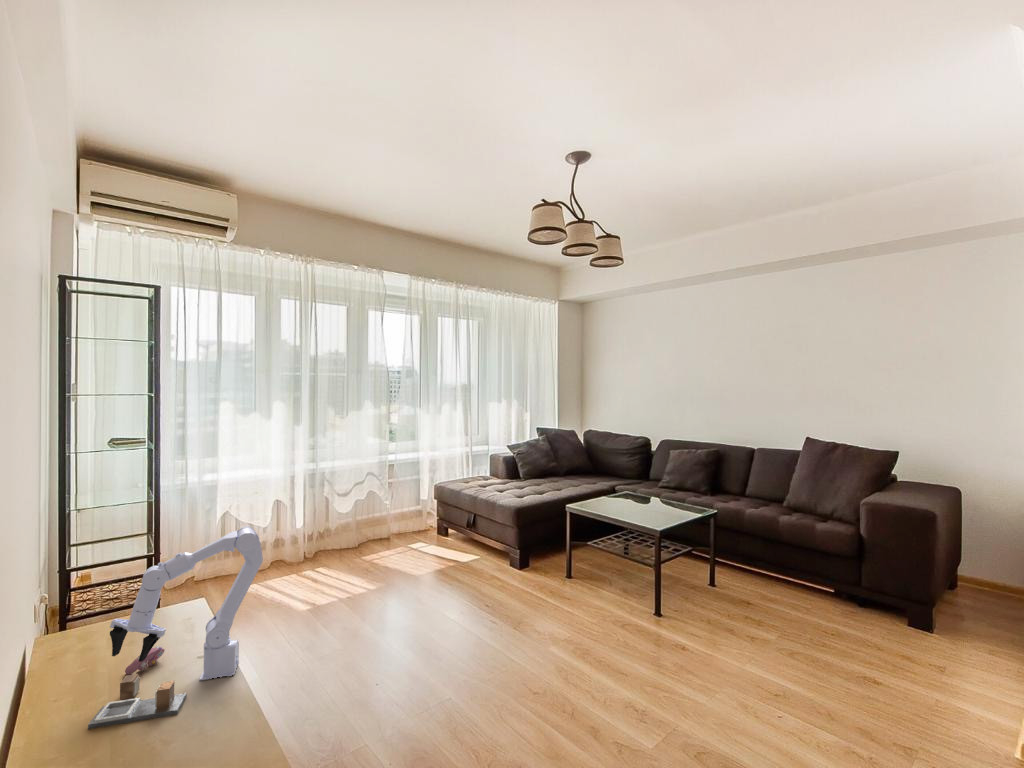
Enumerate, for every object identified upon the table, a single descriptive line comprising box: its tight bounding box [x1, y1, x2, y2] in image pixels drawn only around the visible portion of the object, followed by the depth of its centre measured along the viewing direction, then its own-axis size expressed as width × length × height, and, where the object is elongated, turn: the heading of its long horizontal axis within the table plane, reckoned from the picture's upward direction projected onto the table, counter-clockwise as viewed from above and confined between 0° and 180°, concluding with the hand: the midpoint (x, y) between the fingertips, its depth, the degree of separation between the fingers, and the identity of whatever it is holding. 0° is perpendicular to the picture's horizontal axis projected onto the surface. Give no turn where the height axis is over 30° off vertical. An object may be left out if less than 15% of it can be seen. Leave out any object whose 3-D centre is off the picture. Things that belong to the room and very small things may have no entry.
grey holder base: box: [87, 680, 188, 730], centre depth 137 cm, size 20×8×6 cm, turn 108°
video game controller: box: [124, 645, 166, 675], centre depth 160 cm, size 10×5×7 cm, turn 169°
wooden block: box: [119, 673, 140, 701], centre depth 145 cm, size 3×4×5 cm
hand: (128, 657), depth 146 cm, fingers open, 7 cm apart
